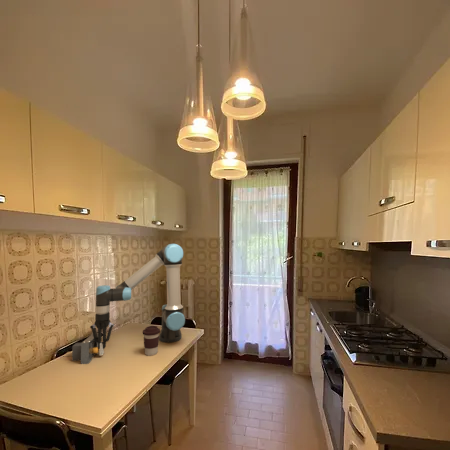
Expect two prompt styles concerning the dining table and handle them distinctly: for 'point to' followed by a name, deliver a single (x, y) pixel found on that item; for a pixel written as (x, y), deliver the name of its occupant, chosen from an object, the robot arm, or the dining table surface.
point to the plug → (77, 351)
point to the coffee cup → (151, 340)
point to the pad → (68, 354)
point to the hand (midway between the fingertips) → (101, 354)
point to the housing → (87, 349)
